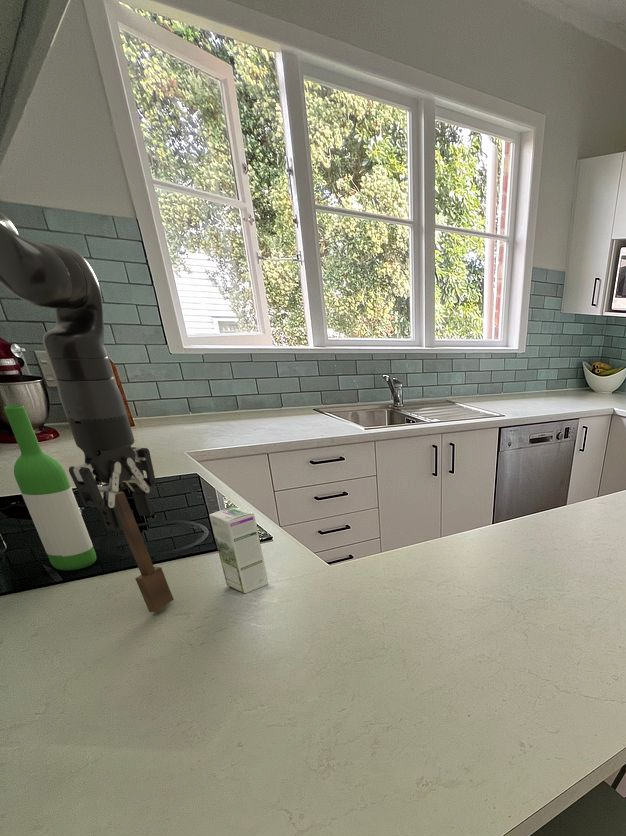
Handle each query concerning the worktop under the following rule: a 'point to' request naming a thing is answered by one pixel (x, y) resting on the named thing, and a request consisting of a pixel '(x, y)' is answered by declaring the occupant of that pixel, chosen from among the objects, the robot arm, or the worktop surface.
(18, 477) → the wine bottle
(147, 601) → the brown paddle
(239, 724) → the worktop surface
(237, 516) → the syrup box
